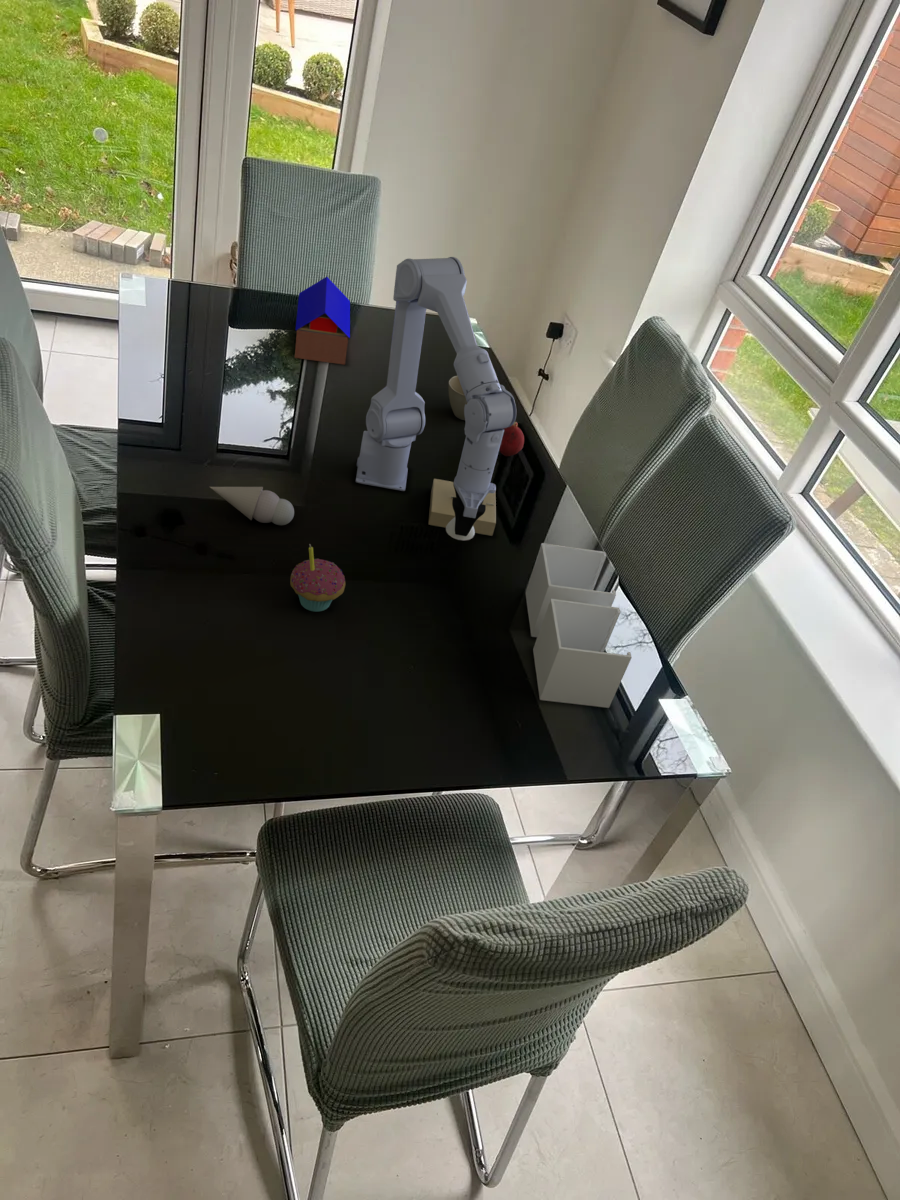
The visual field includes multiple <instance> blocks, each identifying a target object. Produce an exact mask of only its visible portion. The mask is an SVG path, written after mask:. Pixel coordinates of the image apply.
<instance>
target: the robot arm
mask: <svg viewBox="0 0 900 1200" xmlns="http://www.w3.org/2000/svg"><path fill="white" fill-rule="evenodd" d="M467 283H468V279H467V278H466V274H465V269H464V267H463V263H461V261H460V259H459V258H457V257H455V256H448V257H443V258H442V257H440V258H439V257H437V258H436V257H435V258H405V259H404V260H402V261H401V262H399V263H398V264H397V265H396V270H395V279H394V287H393V288H394V289H393V298H392V299H393V301H395V309H394V316H393V325H392V326H393V327H392V333H391V344H390V352H389V353H390V354H389V360H388V362H389V363H388V369H387V377H386V378H387V379H386V385H385V386H384V387H383V388H382V389H380V390H379V391H378V392H376V394H374V395H373V396H372V397H371V399H370V405H369V407H368V410H367V412H366V415H365V426H366V430H364V431H363V433H362V438H361V445H360V451H359V456H358V457H357V461H356V467H357V468H356V469H357V470H356V477H355V483H357V484H361V485H368V486H372V487H377V488H384V489H389V490H395V491H399V492H400V491H401V492H405V491H406V488H407V479H408V470H409V468H408V463H409V457H410V451H411V447H412V444H413V443H412V442H415V441H416V439H417V436H419V435H421V434H422V433H423V432H424V429H425V426H426V414H425V404H426V402H425V400H424V399H423V397H422V396H421V395H420V393H418V392H417V391H416V389H417V382H418V376H419V375H418V374H419V366H420V359H421V352H422V344H423V337H424V329H425V321H426V313H427V310H428V311H429V310H430V311H432V312H435V313H437V315H438V317H439V319H440V321H441V323H442V326H443V327H444V329H445V332H446V334H447V337H448V338H449V340H450V343H451V344H452V346H453V348H454V351H455V353H456V356H455V358H454V361H453V368H454V370H455V373H456V376H458V379H459V381H460V384H461V387H462V389H463V392H464V395H465V397H466V400H467V405H466V404H465V407H464V415H465V420H464V421H465V424H464V429H463V430H464V435H465V437H464V438H465V439H464V444H463V446H462V451H461V456H460V460H459V464H458V468H457V471H456V472H457V473H456V476H455V477H454V479H453V481H452V482H453V486H454V489H455V493H456V497H453V500H452V506H453V510H454V512H455V534H456V535H461V536H467V535H468V533H469V532H470V530H471V528H472V526H473V525H474V523H475V522H476V520H477V519H478V518H479V517H480V516H482V515H483V514H484V512H485V510H486V505H483V504H481V502H482V501H483V500H484V498H485V497H486V495H487V494H488V493H495V491H497V485H496V484H495V483H493V482H491V481H492V477H493V473H494V470H495V466H496V463H497V459H498V455H499V453H500V451H499V448H500V445H501V441H502V437H503V433H504V428H507V427H510V426H512V425H513V424H514V422H516V419H517V415H518V414H517V413H518V411H517V404H516V401H515V396H514V395H513V394H512V393H511V392H510V391H508V390H507V388H506V387H505V386H504V385H503V384H500V381H499V379H498V377H497V376H498V375H497V373H496V371H495V368H494V366H493V363H492V361H491V357H490V355H489V352H488V351H487V350H486V349H485V348H483V347H480V346H479V345H478V343H477V339H476V336H475V333H474V329H473V326H472V322H471V318H470V314H469V311H468V308H467V304H466V301H465V298H464V297H465V294H466V290H467Z"/></svg>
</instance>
